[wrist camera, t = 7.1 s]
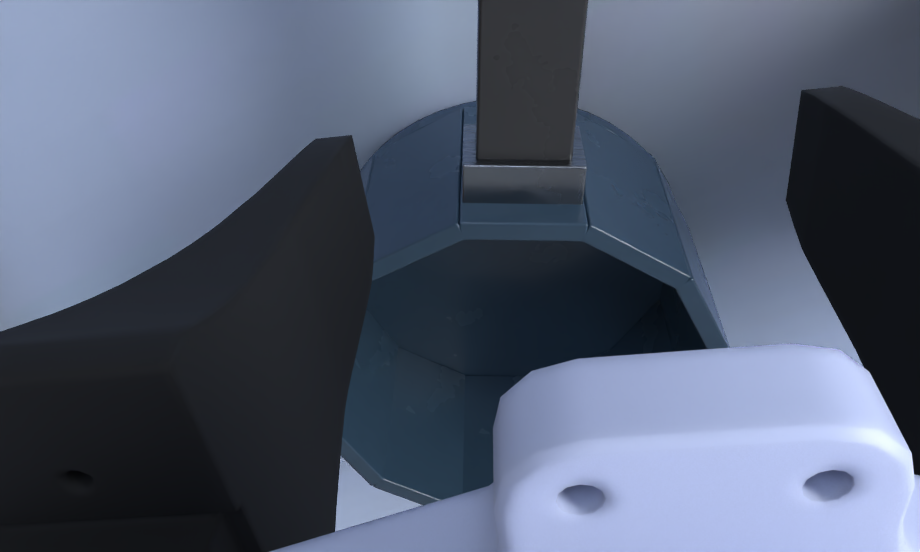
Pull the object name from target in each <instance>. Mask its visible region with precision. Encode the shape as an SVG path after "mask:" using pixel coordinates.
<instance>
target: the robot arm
mask: <svg viewBox="0 0 920 552" xmlns="http://www.w3.org/2000/svg"><path fill="white" fill-rule="evenodd" d="M786 202H787V205H788V209H789V212H790V215H791V218H792V221H793V224H794V228H795V230H796V233H797V236H798V239H799V242H800V245H801V247H802V250H803V252H804V254H805V256H806V258H807V260H808V262H809V264H810V265H811V267H812V269H813V271H814V273H815V275H816V277H817V279H818V281H819V283H820V284H821V286H822V288H823V290H824V292H825V294H826V296H827V297H828V299H829V301H830V303H831V305H832V307H833V309H834V310H835V312H836V314H837V316H838V318H839V320H840V322H841V323H842V325H843V327H844V329H845V331H846V333H847V335H848V336H849V338H850V340H851V342H852V344H853V346H854V348H855V349H856V352H857V354H858V356H859V358H860V360H861V362H862V364H863V366H864V367H862V366H861V365H860V364H858V363H857V362H856V361H854V360H853V359H852V358H850V357H849V356H848V355H846V354H845V353H844V352H842V351H841V350H840V349H834V348H826V347H818V346H810V345H801V344H793V343H787V344H773V345H759V346H745V347H732V348H718V349H704V350H690V351H676V352H662V353H649V354H635V355H621V356H607V357H593V358H579V359H574V360H571V361H567V362H563V363H559V364H556V365H552V366H548V367H545V368H541V369H537V370H533V371H531V372H530V373H528V374H527V375H526V376H525V377H524V378H522V379H521V380H520V381H519V382H518V383H517V384H515V385H514V386H513V387H512V388H511V389H509V390H508V391H507V392H506V393H505V394H504V395H502V396H501V397H500V401H499V405H498V409H497V413H496V418H495V422H494V426H493V483H492V484H491V485H489V486H486V487H483V488H480V489H476V490H473V491H470V492H466V493H463V494H460V495H456V496H453V497H450V498H446V499H443V500H440V501H436V502H433V503H430V504H426V505H423V506H420V507H416V508H413V509H410V510H406V511H403V512H400V513H396V514H393V515H390V516H386V517H383V518H380V519H376V520H373V521H370V522H366V523H363V524H360V525H356V526H353V527H350V528H346V529H343V530H340V531H336V532H335V521H336V505H337V492H338V480H339V468H340V455H341V445H342V435H343V426H344V416H345V407H346V401H347V395H348V389H349V384H350V379H351V375H352V371H353V366H354V362H355V357H356V353H357V348H358V344H359V340H360V335H361V331H362V326H363V322H364V318H365V313H366V308H367V304H368V299H369V294H370V290H371V285H372V273H373V260H374V243H375V235H374V230H373V226H372V222H371V217H370V213H369V209H368V204H367V200H366V195H365V191H364V187H363V182H362V178H361V174H360V169H359V165H358V160H357V156H356V152H355V147H354V143H353V138H352V135H349V136H339V137H329V138H319V139H315V140H314V141H312V142H311V143H310V144H309V145H307V146H306V147H305V148H304V149H303V150H302V151H301V152H300V153H299V154H297V155H296V156H295V157H294V158H293V159H292V160H291V161H290V162H289V163H288V164H287V165H286V166H285V167H284V168H283V169H282V170H281V171H279V172H278V173H277V174H276V175H275V176H274V177H273V178H272V179H271V180H270V181H269V182H268V183H267V184H265V185H264V186H263V187H262V188H261V189H260V190H259V191H258V192H257V193H256V194H255V195H253V196H252V197H251V198H250V199H249V200H247V201H246V202H245V203H244V204H242V205H241V206H240V207H239V208H238V209H236V210H235V211H234V212H233V213H232V214H230V215H229V216H228V217H227V218H226V219H224V220H223V221H222V222H221V223H220V224H218V225H217V226H216V227H214V228H213V229H212V230H210V231H209V232H208V233H206V234H205V235H203V236H202V237H201V238H199V239H198V240H196V241H195V242H193V243H192V244H190V245H189V246H187V247H186V248H184V249H182V250H181V251H179V252H178V253H176V254H175V255H173V256H172V257H170V258H168V259H167V260H165V261H163V262H161V263H159V264H157V265H156V266H154V267H152V268H150V269H148V270H146V271H145V272H143V273H141V274H139V275H137V276H136V277H134V278H132V279H130V280H128V281H126V282H125V283H123V284H121V285H119V286H116V287H114V288H112V289H110V290H108V291H106V292H104V293H101V294H99V295H97V296H95V297H93V298H90V299H88V300H85V301H83V302H81V303H78V304H76V305H74V306H71V307H69V308H66V309H64V310H61V311H59V312H56V313H53V314H51V315H48V316H45V317H42V318H39V319H36V320H33V321H30V322H28V323H25V324H22V325H19V326H16V327H13V328H10V329H7V330H4V331H1V332H0V552H920V120H919V119H917V118H915V117H913V116H911V115H909V114H906V113H904V112H902V111H900V110H898V109H896V108H894V107H892V106H889V105H887V104H885V103H883V102H881V101H879V100H876V99H874V98H872V97H870V96H867V95H865V94H863V93H860V92H858V91H855V90H853V89H850V88H846V87H843V86H838V87H828V88H818V89H808V90H801V97H800V104H799V111H798V118H797V125H796V132H795V139H794V147H793V154H792V161H791V168H790V175H789V182H788V189H787V196H786Z"/></svg>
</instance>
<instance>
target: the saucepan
mask: <svg viewBox="0 0 920 552" xmlns="http://www.w3.org/2000/svg"><path fill="white" fill-rule="evenodd" d="M587 8H588V0H478V37H477V100H476V101H475V102H470V103H464V104H461V105H458V106H454V107H451V108H448V109H444V110H441V111H439V112H436V113H434V114H432V115H430V116H427V117H425V118H423V119H421V120H418V121H417V122H415V123H413V124H412V125H410V126H409V127H407V128H405V129H404V130H402V131H400V132H399V133H397V134H396V135H395V136H394V137H392V138H391V139H390V140H389V141H387V142H386V143H385V144H384V145H382V146H381V147H380V148H379V149H378V150H377V152H376V153H375V154H373V156H372V157H371V158H370V159H369V160H368V161H367V162H366V164H365V165H364V166H363V168H362V169H361V171H360V174H361V178H362V182H363V187H364V191H365V195H366V200H367V204H368V209H369V213H370V217H371V222H372V226H373V230H374V235H375V243H374V260H373V273H372V285H371V290H370V294H369V299H368V304H367V308H366V313H365V318H364V322H363V326H362V331H361V335H360V340H359V344H358V348H357V353H356V357H355V362H354V366H353V371H352V375H351V379H350V384H349V389H348V395H347V401H346V407H345V416H344V426H343V435H342V445H341V456H342V457H343V458H344V459H345V460H346V461H347V462H348V463H349V464H350V465H351V466H352V467H353V468H354V469H355V470H356V471H357V472H358V473H359V474H360V475H361V476H362V477H363V478H364V479H365V480H366V481H367V482H368V483H369V484H370V485H373V486H374V487H375V488H378V489H381V490H383V491H386V492H389V493H392V494H394V495H397V496H400V497H402V498H405V499H408V500H411V501H413V502H416V503H419V504H421V505H426V504H430V503H433V502H436V501H440V500H443V499H446V498H450V497H453V496H456V495H460V494H463V493H466V492H470V491H473V490H476V489H480V488H483V487H486V486H489V485H491V484H492V483H493V426H494V422H495V418H496V413H497V409H498V405H499V401H500V397H501V396H502V395H504V394H505V393H506V392H507V391H508V390H509V389H511V388H512V387H513V386H514V385H515V384H517V383H518V382H519V381H520V380H521V379H522V378H524V377H525V376H526V375H527V374H528V373H530V372H531V371H533V370H537V369H541V368H545V367H548V366H552V365H556V364H559V363H563V362H567V361H571V360H574V359H579V358H593V357H607V356H621V355H635V354H649V353H662V352H676V351H690V350H704V349H718V348H730V346H729V343H728V341H727V338H726V335H725V332H724V329H723V326H722V323H721V320H720V317H719V314H718V312H717V309H716V306H715V303H714V300H713V297H712V294H711V291H710V288H709V285H708V282H707V280H706V277H705V274H704V271H703V268H702V265H701V262H700V259H699V256H698V253H697V250H696V248H695V245H694V242H693V239H692V236H691V233H690V230H689V227H688V225H687V223H686V221H685V219H684V217H683V215H682V213H681V211H680V209H679V207H678V205H677V203H676V201H675V198H674V196H673V193H672V191H671V188H670V186H669V183H668V181H667V180H666V178H665V176H664V175H663V173H662V171H661V170H660V168H659V166H658V164H657V162H656V160H655V158H654V157H652V155H651V154H649V153H647V152H646V150H645V149H644V148H642V147H641V146H640V145H639V144H638V143H637V142H636V141H635V140H633V139H632V138H631V137H630V136H629V135H628V134H626V133H625V132H623V131H622V130H620V129H619V128H617V127H616V126H614V125H613V124H611V123H610V122H607V121H605V120H603V119H601V118H599V117H597V116H595V115H593V114H591V113H589V112H586V111H583V110H580V109H577V108H578V98H579V88H580V78H581V68H582V58H583V48H584V38H585V28H586V18H587Z"/></svg>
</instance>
